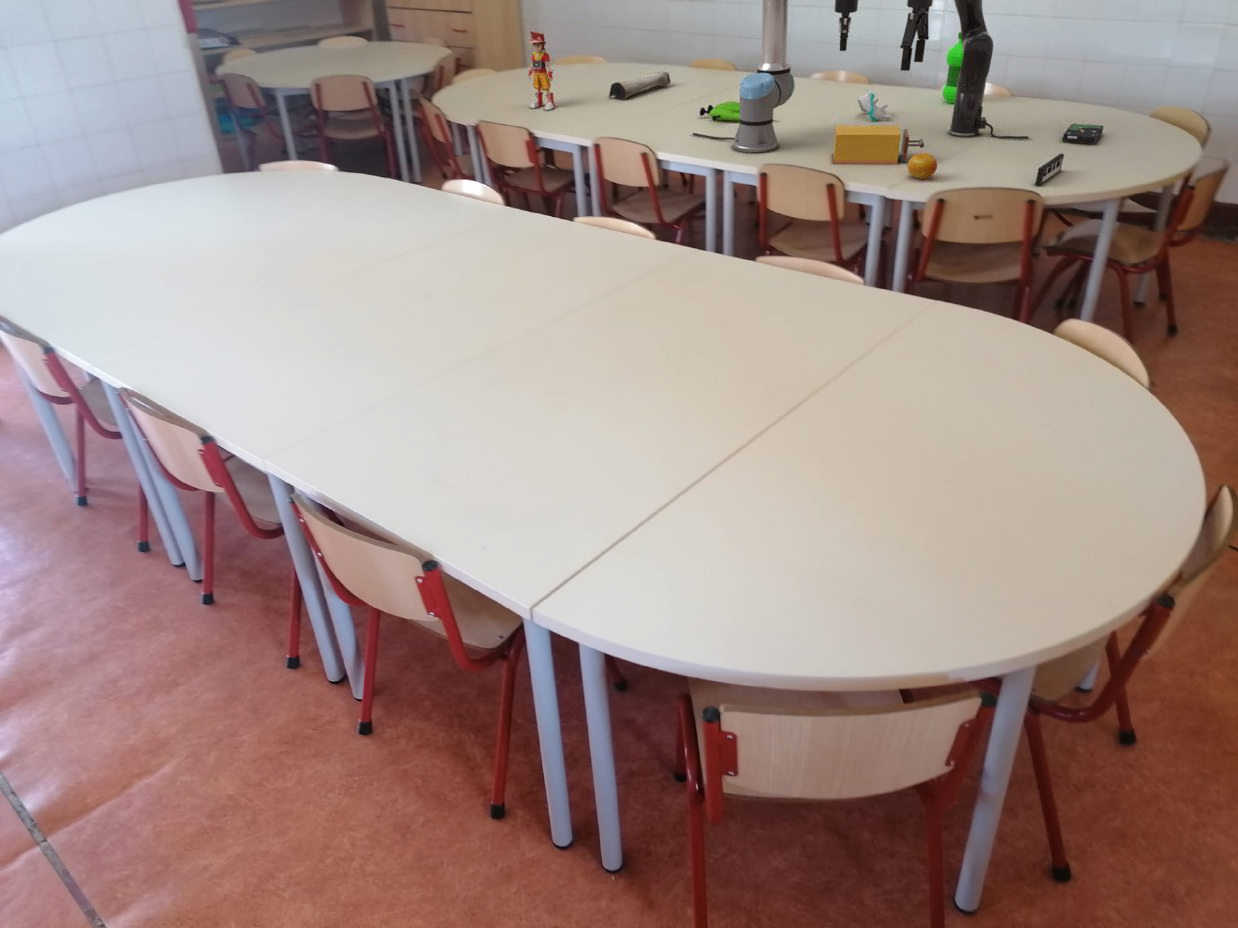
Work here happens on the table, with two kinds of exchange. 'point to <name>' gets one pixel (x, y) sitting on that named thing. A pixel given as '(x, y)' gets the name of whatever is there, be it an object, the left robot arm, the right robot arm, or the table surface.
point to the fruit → (922, 165)
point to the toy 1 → (541, 71)
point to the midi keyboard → (1049, 169)
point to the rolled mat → (638, 84)
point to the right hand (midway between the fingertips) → (842, 48)
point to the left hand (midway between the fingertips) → (911, 66)
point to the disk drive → (1083, 133)
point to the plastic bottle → (953, 70)
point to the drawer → (906, 143)
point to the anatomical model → (872, 107)
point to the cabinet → (867, 144)
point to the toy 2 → (723, 111)
